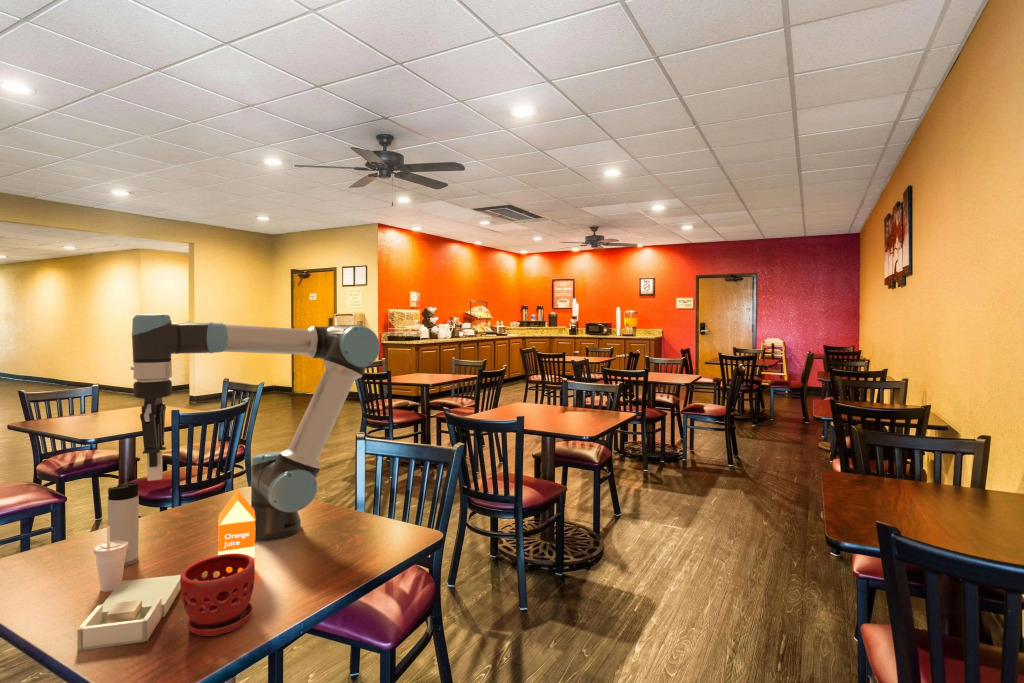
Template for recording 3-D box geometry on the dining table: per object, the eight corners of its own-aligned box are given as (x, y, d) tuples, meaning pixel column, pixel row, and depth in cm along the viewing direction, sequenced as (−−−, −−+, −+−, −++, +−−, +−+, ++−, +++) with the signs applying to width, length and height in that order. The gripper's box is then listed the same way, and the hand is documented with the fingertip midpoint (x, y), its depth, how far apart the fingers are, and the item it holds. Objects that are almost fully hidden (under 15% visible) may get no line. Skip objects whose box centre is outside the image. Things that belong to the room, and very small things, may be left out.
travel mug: (123, 569, 131) (123, 488, 131) (101, 566, 133) (101, 485, 132) (145, 559, 138) (146, 481, 137) (124, 556, 139) (124, 479, 138)
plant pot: (233, 601, 118) (233, 546, 117) (267, 620, 110) (267, 562, 110) (167, 627, 107) (168, 568, 107) (200, 651, 100) (200, 587, 99)
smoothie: (105, 581, 125) (105, 521, 125) (134, 580, 126) (134, 521, 126) (86, 595, 119) (86, 532, 119) (116, 594, 120) (117, 531, 119)
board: (182, 585, 124) (182, 574, 124) (164, 616, 111) (164, 604, 111) (121, 592, 120) (121, 581, 120) (95, 625, 107) (95, 613, 107)
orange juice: (217, 589, 123) (218, 502, 122) (218, 573, 131) (219, 491, 130) (255, 582, 126) (256, 497, 126) (254, 567, 134) (254, 487, 134)
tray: (161, 617, 111) (161, 597, 111) (147, 641, 102) (147, 620, 102) (97, 625, 107) (98, 605, 107) (77, 651, 99) (77, 629, 99)
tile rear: (142, 609, 109) (142, 599, 109) (134, 621, 104) (134, 611, 104) (115, 612, 107) (115, 603, 107) (106, 624, 103) (106, 614, 103)
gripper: (141, 377, 131) (143, 473, 132) (125, 383, 119) (128, 489, 120) (177, 376, 134) (179, 470, 135) (164, 382, 122) (167, 485, 123)
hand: (155, 479), depth 128 cm, fingers closed
